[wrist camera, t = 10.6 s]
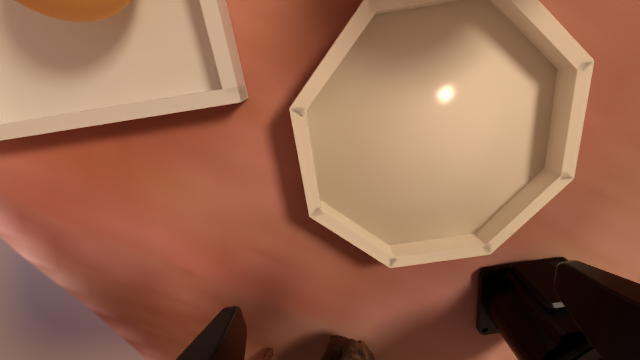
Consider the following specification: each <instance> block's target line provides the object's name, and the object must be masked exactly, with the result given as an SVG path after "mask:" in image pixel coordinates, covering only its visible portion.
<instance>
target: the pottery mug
mask: <svg viewBox="0 0 640 360" xmlns="http://www.w3.org/2000/svg"><path fill="white" fill-rule="evenodd" d="M273 354H274V353H273V349H272V348H271V349H269V350H268V352H267V353H266V356H265V357H264V358H263V360H271V358H272V356H273ZM320 360H374V357H373V355H372V353H371V352H370V350H369V349H368V347H367V346H366V345H365V343H364V342H363V341H359V342H357V341H355V340H354V339H348V338H346V337H342V336H331V337H330V342H328V345H327V348H326V351H325V354H324V356H323V357H322V358H321V359H320Z"/></svg>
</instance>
